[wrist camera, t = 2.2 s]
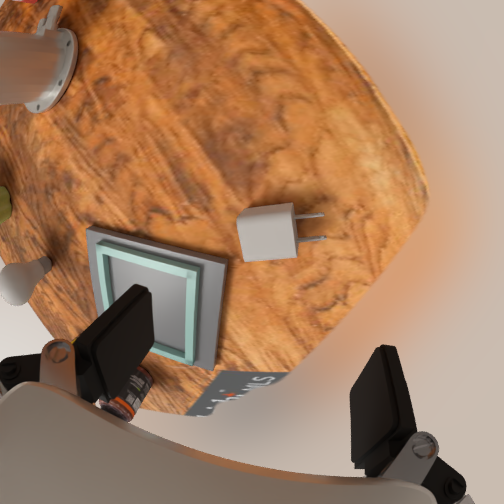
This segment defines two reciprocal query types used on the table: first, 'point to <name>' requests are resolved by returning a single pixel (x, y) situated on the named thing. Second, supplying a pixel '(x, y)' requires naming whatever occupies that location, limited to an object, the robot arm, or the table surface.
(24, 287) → the lightbulb
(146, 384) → the supplement bottle
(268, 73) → the table surface
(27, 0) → the beverage can
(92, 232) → the board
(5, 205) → the plant pot
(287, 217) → the usb wall charger
